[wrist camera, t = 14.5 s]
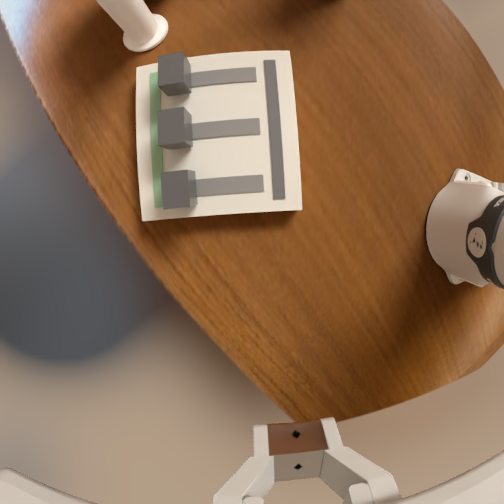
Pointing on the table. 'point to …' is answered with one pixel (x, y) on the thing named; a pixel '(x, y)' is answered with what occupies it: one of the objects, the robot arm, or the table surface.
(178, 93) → the handle
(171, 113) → the handle
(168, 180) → the handle
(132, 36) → the candle
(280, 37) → the table surface
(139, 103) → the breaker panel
